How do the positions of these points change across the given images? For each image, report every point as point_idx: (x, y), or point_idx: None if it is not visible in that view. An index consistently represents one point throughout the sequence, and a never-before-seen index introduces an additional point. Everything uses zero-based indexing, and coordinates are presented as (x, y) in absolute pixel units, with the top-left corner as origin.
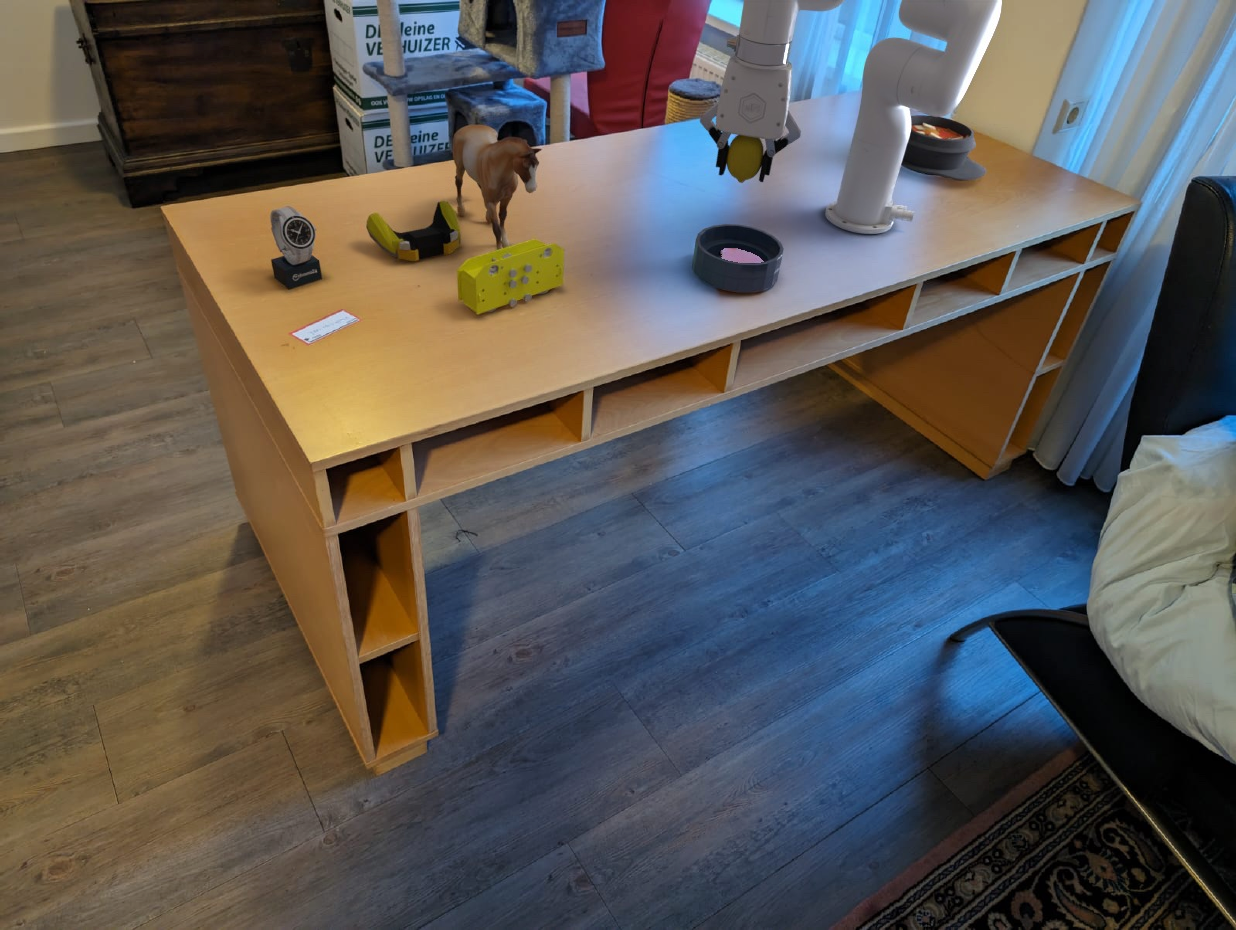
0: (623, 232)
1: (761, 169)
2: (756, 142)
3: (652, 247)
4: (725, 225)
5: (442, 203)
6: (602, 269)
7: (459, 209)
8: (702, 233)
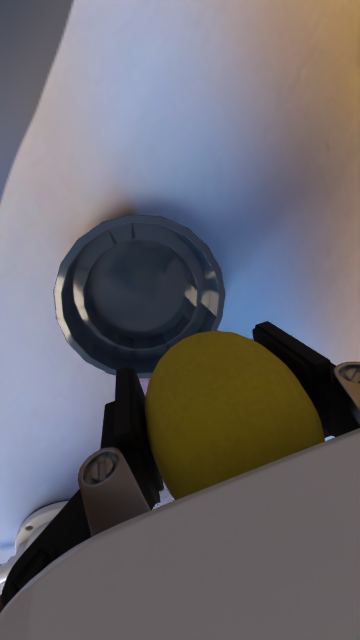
0: (319, 304)
1: (132, 392)
2: (204, 478)
3: (273, 290)
4: None
5: None
6: (317, 176)
7: None
8: (218, 300)
